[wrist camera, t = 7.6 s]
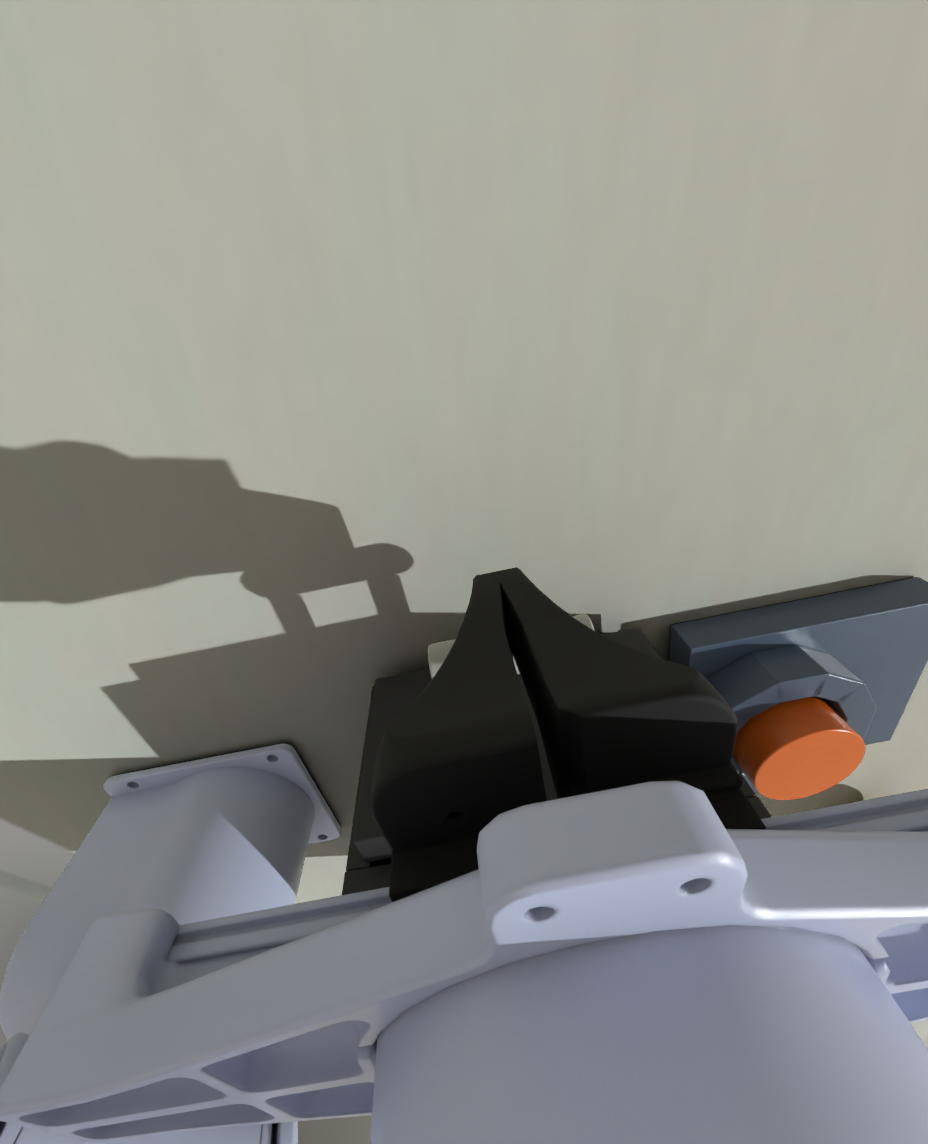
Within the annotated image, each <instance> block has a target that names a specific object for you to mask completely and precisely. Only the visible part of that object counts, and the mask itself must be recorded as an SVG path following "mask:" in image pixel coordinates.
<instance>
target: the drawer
mask: <svg viewBox="0 0 928 1144" xmlns="http://www.w3.org/2000/svg"><path fill="white" fill-rule="evenodd" d="M572 617H574V618H575V619H576V620H578V621H579V622H581V623H582V624H584V625H586V626H587V627H589V628H591V629H592V630H594V631H595V629H594V627H593V624H592V622H591V620H590V618H589V617H588V615H586V614H580V615H575V616H572ZM604 636H606V637H608V638H610V639H612V640H614V641H616V642H618V643H620V644H623V645H625V646H627V647H630V648H632V649H635V650H637V651H640V652H643V653H645V654H648V655H651V656H654V657H656V658H660V657H659V655H658V654H657V652H656V651H655V650H654V648H653V647H652V645H651V644H650V642H649V641H648V639H647V638H646V637H645V635H644V634H643V632H642V631H641V629H640V628H636V629H630V630H625V631H620V632H615V633H610V634H605V635H604ZM455 640H456V639H453V640H448V641H443V642H438V643H433V644H430V645H429V646H428V662H429V668H430V669H425V670H420V671H415V672H410V673H405V674H400V675H395V676H390V677H385V678H379V679H376V683H375V690H374V697H373V704H372V711H371V719H370V726H369V733H368V740H367V747H366V754H365V762H364V769H363V776H362V783H361V790H360V798H359V805H358V812H357V819H356V826H355V834H354V841H353V842H354V844H355V846H356V848H357V849H358V851H359V853H360V855H361V856H362V858H363V860H364V861H365V862H369V861H375V860H380V859H386V858H391V853H392V850H391V848H390V847H389V845H388V843H387V841H386V839H385V837H384V836H383V834H382V832H381V830H380V828H379V826H378V824H377V823H376V821H375V819H374V817H373V814H372V811H371V807H370V802H371V792H372V782H373V773H374V768H375V763H376V759H377V755H378V751H379V747H380V744H381V741H382V737H383V734H384V732H385V730H386V729H387V728H388V727H389V726H391V725H392V724H393V723H394V722H395V721H396V720H397V719H398V718H399V717H400V716H401V715H402V714H403V713H404V712H405V711H406V710H407V709H408V708H409V707H410V706H411V705H412V704H413V703H414V701H415V700H416V699H417V698H418V696H419V695H420V694H421V693H422V692H423V690H424V689H425V688H426V687H427V685H428V684H429V683H430V681H431V680H432V679H433V677H434V676H435V674H436V673H437V671H438V670H439V668H440V667H441V665H442V663H443V662H444V660H445V659H446V657H447V655H448V653H449V651H450V650H451V648H452V646H453V644H454V642H455ZM512 654H513V652H512ZM660 659H661V658H660ZM513 661H514V665H515V668H516V672H517V675H518V678H519V682H520V685H521V688H522V691H523V694H524V698H525V701H526V704H527V707H528V710H529V713H530V716H531V719H532V723H533V727H534V731H535V734H536V738H537V743H538V748H539V754H540V761H541V767H542V773H543V779H544V786H545V792H546V798H547V801H550V800H555V799H557V797H556V793H555V789H554V785H553V781H552V777H551V773H550V769H549V765H548V761H547V757H546V753H545V749H544V745H543V741H542V738H541V734H540V730H539V726H538V723H537V720H536V717H535V714H534V711H533V708H532V705H531V703H530V700H529V697H528V694H527V692H526V689H525V686H524V683H523V681H522V678H521V675H520V673H519V670H518V667H517V664H516V661H515V659H514V656H513ZM731 764H732V765H733V767H734V768H735V770H736V771H737V773H738V774H739V771H738V769H737V767H736V766H735V764H734V763H733V761H732V760H731Z"/></svg>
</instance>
